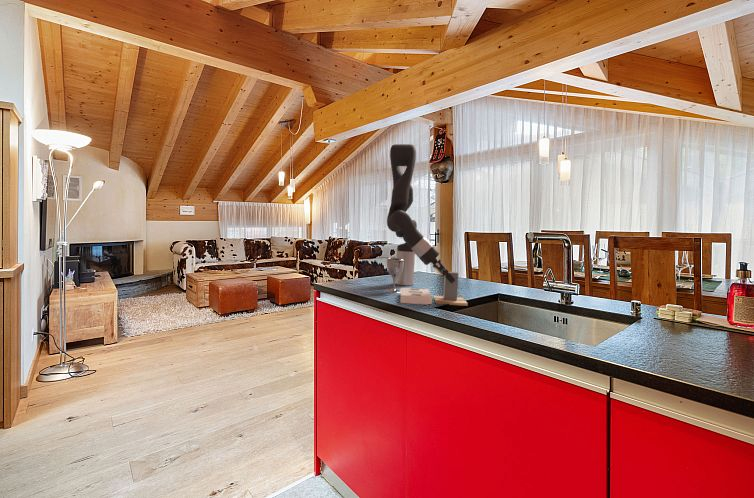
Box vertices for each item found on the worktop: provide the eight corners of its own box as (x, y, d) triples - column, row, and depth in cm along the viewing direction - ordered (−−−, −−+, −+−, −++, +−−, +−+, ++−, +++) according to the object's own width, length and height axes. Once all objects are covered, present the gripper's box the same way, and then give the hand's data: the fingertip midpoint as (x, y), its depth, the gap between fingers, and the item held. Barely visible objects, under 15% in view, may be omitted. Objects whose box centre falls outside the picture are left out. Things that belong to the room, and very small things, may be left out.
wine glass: (382, 290, 171) (383, 257, 170) (397, 289, 175) (399, 257, 174) (390, 293, 164) (391, 259, 163) (405, 292, 167) (407, 259, 166)
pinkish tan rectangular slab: (400, 294, 162) (400, 287, 162) (428, 296, 161) (428, 288, 161) (400, 302, 144) (400, 294, 144) (431, 304, 143) (431, 296, 143)
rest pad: (433, 297, 158) (433, 295, 158) (462, 299, 157) (462, 297, 157) (436, 304, 145) (436, 301, 145) (467, 305, 144) (467, 303, 144)
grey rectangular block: (443, 298, 153) (444, 271, 152) (455, 298, 153) (456, 272, 152) (444, 299, 149) (445, 272, 148) (456, 300, 149) (458, 273, 148)
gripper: (433, 245, 143) (461, 276, 143) (430, 243, 157) (456, 271, 157) (419, 258, 144) (447, 289, 144) (417, 255, 158) (443, 283, 158)
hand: (452, 280), depth 150 cm, fingers open, 8 cm apart
